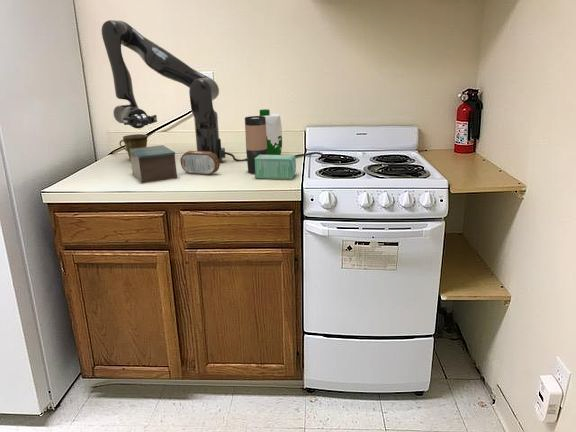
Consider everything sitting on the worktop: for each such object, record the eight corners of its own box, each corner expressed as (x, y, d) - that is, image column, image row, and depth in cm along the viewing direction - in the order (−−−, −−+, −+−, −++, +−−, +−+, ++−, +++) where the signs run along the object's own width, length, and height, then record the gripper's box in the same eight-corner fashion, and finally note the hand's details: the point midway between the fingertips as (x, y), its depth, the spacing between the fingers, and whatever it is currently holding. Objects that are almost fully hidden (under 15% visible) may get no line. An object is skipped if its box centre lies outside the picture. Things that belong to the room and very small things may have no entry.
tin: (220, 174, 183) (219, 151, 180) (216, 176, 180) (215, 153, 177) (184, 172, 187) (182, 149, 185) (180, 173, 185) (178, 151, 182)
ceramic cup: (140, 156, 219) (137, 133, 216) (154, 158, 213) (152, 135, 210) (114, 161, 209) (111, 138, 206) (129, 164, 203) (126, 140, 200)
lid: (175, 154, 175) (175, 152, 175) (139, 158, 169) (138, 156, 169) (163, 147, 189) (163, 145, 189) (129, 151, 183) (129, 148, 183)
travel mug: (271, 170, 186) (269, 116, 180) (262, 174, 180) (259, 119, 174) (253, 168, 190) (250, 115, 183) (243, 173, 183) (240, 118, 177)
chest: (177, 178, 178) (174, 154, 176) (141, 183, 173) (138, 158, 170) (165, 170, 192) (163, 147, 189) (132, 174, 186) (129, 151, 183)
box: (292, 179, 171) (292, 158, 169) (254, 179, 174) (253, 158, 172) (296, 174, 178) (295, 154, 176) (259, 174, 181) (258, 154, 178)
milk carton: (261, 156, 210) (259, 108, 204) (282, 156, 210) (281, 108, 204) (260, 161, 202) (257, 111, 196) (282, 160, 202) (280, 110, 195)
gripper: (116, 109, 188) (125, 113, 174) (151, 106, 194) (163, 110, 179) (119, 128, 191) (128, 134, 176) (153, 125, 196) (165, 131, 182)
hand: (145, 122), depth 178 cm, fingers closed
